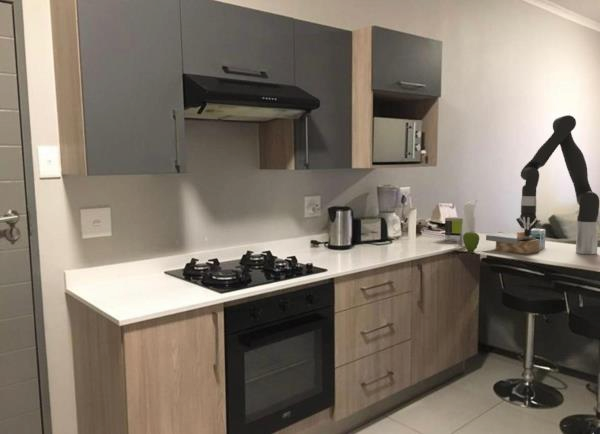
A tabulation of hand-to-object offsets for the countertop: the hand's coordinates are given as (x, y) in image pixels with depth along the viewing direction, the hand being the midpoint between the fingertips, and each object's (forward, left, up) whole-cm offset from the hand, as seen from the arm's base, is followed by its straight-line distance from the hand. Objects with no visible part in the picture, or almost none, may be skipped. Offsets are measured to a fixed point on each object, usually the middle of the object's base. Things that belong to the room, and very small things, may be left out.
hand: (527, 236), depth 276 cm
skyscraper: (+34, +5, -10) cm, 36 cm away
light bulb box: (+5, -19, -9) cm, 21 cm away
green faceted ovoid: (+22, +19, -9) cm, 31 cm away
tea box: (+52, -10, -9) cm, 53 cm away
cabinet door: (+11, 0, -4) cm, 12 cm away
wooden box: (+6, 0, -9) cm, 11 cm away
